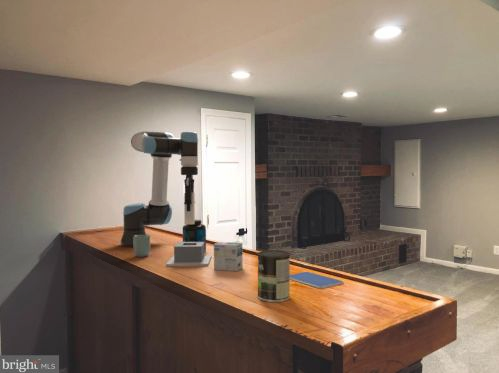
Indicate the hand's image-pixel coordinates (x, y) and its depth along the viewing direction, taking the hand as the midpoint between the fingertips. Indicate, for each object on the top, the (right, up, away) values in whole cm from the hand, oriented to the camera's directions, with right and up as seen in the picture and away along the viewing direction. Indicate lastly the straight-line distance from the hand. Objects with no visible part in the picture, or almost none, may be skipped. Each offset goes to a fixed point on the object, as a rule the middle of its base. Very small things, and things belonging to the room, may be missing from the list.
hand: (189, 217), depth 174 cm
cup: (-25, -20, +13) cm, 35 cm away
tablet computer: (+51, -21, -32) cm, 63 cm away
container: (-1, -20, +24) cm, 31 cm away
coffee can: (+35, -21, -52) cm, 66 cm away
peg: (0, -3, 0) cm, 3 cm away
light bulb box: (+18, -20, -13) cm, 30 cm away
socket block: (0, -20, 0) cm, 20 cm away
